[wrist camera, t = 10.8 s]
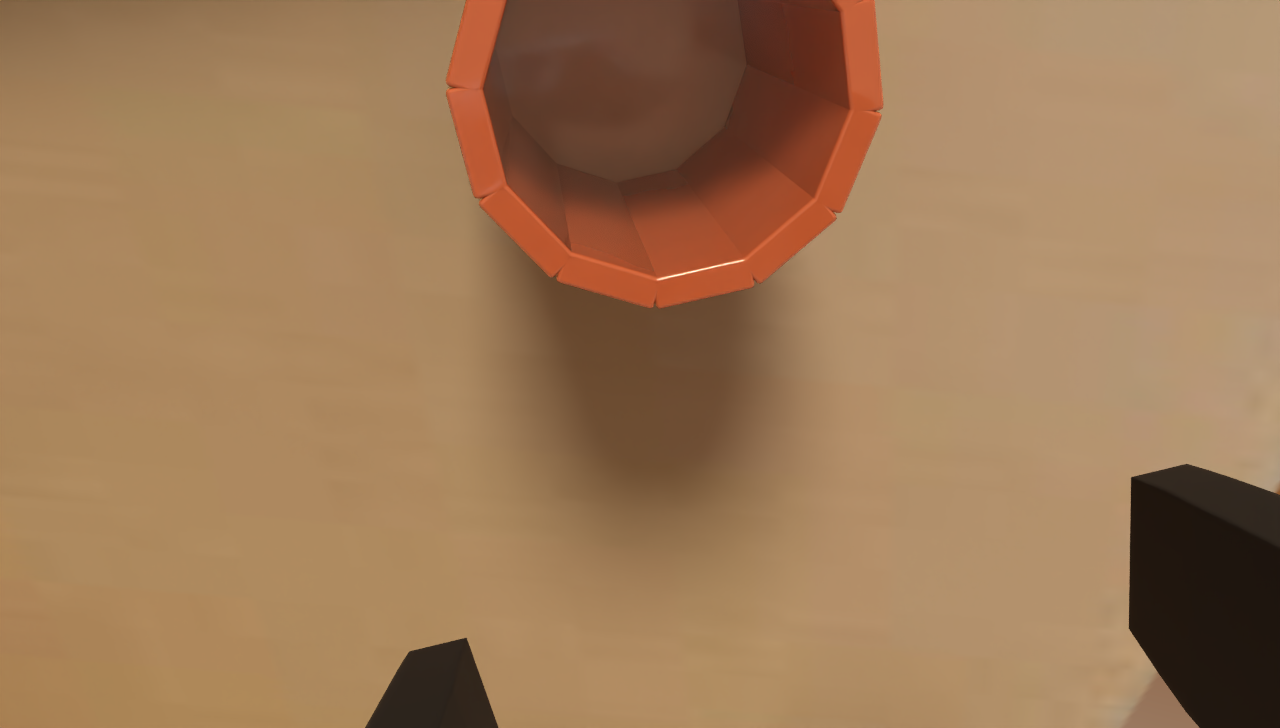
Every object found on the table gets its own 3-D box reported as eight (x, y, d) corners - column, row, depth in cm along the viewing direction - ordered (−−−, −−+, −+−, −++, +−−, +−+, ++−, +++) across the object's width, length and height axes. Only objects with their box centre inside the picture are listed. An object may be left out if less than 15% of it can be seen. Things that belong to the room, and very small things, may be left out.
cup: (516, 221, 18) (513, 342, 12) (422, -145, 16) (362, -210, 10) (777, 163, 19) (897, 256, 13) (727, -209, 16) (850, -310, 10)
